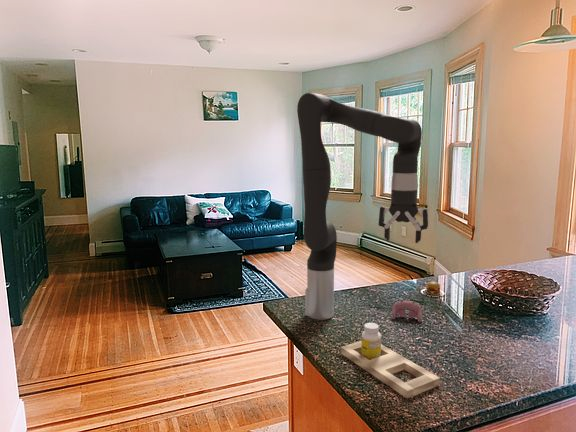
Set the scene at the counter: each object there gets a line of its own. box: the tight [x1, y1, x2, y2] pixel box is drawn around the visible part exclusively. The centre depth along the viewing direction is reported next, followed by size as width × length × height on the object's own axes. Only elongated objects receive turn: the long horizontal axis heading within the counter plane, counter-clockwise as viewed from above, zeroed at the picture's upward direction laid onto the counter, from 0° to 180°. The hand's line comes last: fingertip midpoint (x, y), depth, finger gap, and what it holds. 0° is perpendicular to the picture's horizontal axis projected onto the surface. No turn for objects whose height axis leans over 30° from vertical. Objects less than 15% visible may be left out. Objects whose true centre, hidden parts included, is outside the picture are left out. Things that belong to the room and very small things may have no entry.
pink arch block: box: [391, 300, 423, 323], centre depth 150 cm, size 10×5×7 cm, turn 72°
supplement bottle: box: [361, 322, 382, 360], centre depth 122 cm, size 5×5×10 cm
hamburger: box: [420, 280, 445, 298], centre depth 173 cm, size 12×12×6 cm
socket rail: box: [340, 340, 441, 399], centre depth 117 cm, size 26×11×2 cm, turn 30°
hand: (402, 241), depth 132 cm, fingers open, 8 cm apart
